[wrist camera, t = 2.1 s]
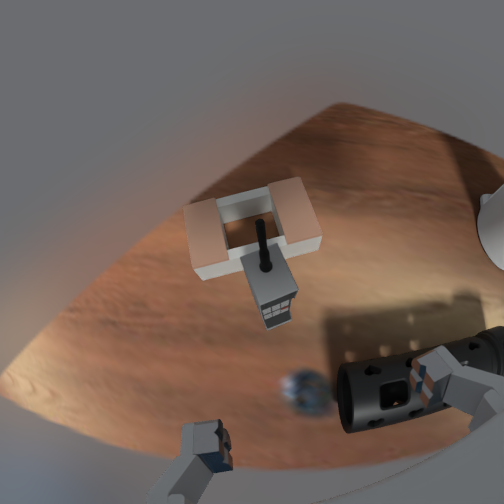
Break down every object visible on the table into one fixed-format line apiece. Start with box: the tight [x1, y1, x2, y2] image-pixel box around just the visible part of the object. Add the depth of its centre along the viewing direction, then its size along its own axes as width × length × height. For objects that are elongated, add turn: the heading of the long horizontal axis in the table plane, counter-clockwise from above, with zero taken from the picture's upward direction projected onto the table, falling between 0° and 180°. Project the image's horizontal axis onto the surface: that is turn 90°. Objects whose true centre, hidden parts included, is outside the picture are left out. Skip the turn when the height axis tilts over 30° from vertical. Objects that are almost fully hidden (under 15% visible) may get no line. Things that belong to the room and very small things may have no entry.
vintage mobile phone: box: [240, 219, 299, 330], centre depth 30 cm, size 4×5×25 cm
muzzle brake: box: [337, 326, 504, 434], centre depth 30 cm, size 10×28×10 cm, turn 93°
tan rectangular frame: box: [183, 176, 323, 280], centre depth 44 cm, size 18×10×6 cm, turn 104°
